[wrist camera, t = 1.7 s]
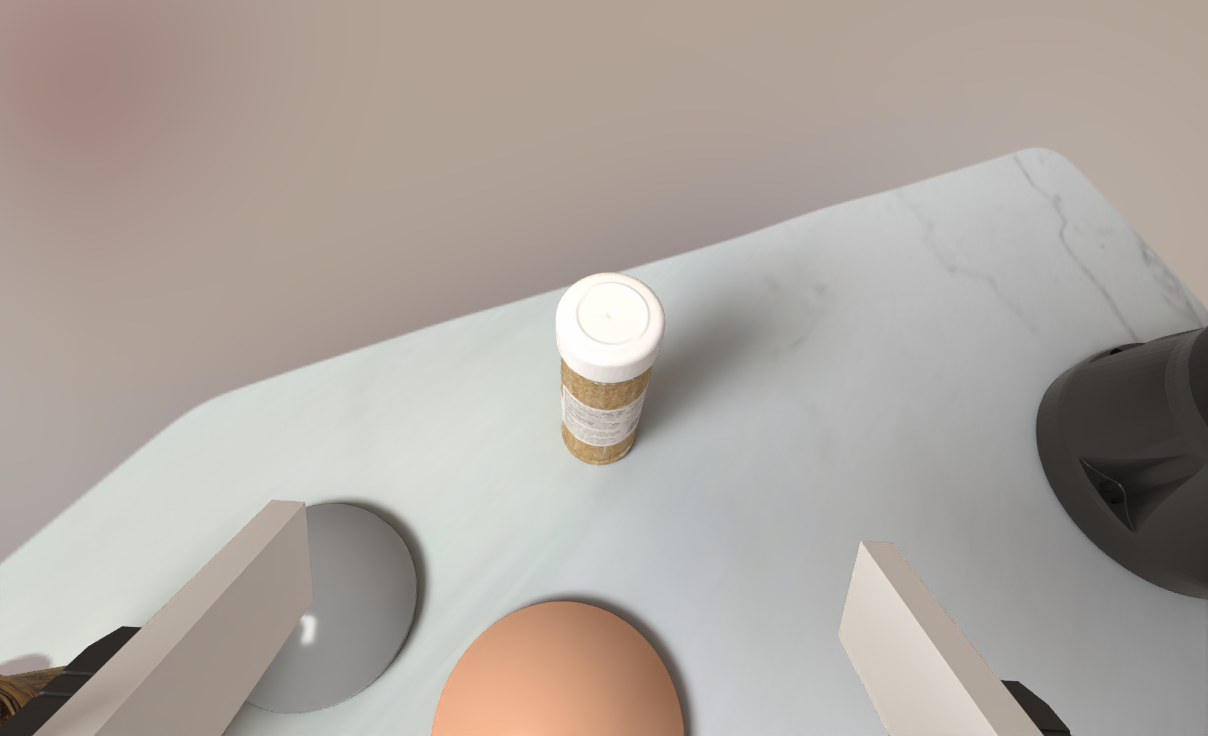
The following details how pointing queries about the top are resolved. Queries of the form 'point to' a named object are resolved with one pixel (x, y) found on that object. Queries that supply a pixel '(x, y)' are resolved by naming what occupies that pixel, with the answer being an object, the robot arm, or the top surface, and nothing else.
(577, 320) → the sprinkles bottle
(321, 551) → the slate coaster
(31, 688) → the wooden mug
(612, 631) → the terracotta coaster
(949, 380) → the top surface
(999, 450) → the top surface
